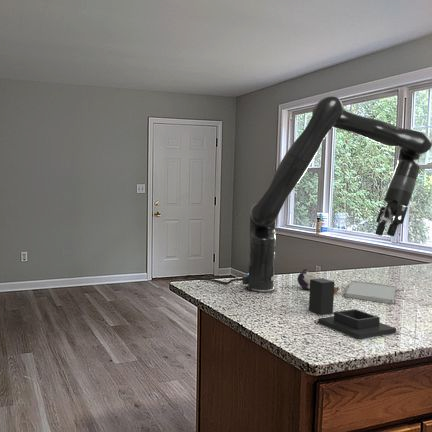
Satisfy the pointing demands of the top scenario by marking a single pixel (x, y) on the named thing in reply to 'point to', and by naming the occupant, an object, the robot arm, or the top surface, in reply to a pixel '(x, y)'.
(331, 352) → the top surface
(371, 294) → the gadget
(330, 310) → the pad block
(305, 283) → the figurine
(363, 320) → the base pad
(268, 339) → the top surface
